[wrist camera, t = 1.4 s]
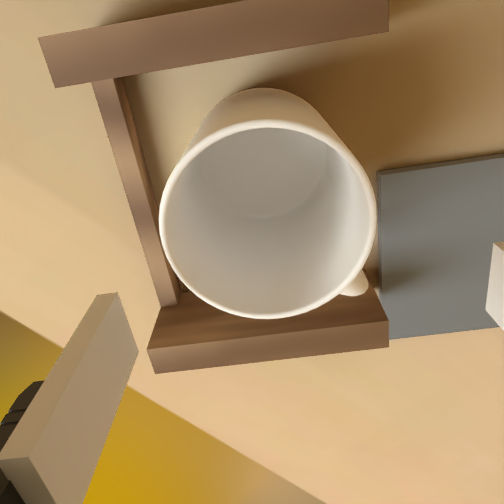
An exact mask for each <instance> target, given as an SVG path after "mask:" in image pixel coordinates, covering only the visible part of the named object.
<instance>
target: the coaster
mask: <svg viewBox="0 0 504 504" xmlns="http://www.w3.org/2000/svg"><path fill="white" fill-rule="evenodd" d="M377 175H378V247H379V301H380V303H381V305H382V307H383V309H384V311H385V313H386V316H387V318H388V320H389V340H391V339H400V338H408V337H417V336H426V335H434V334H443V333H452V332H460V331H469V330H477V329H486V328H495V327H500V326H499V325H498V324H497V323H496V322H495V320H494V319H493V318H492V317H491V316H490V315H489V314H488V312H487V311H486V310H485V309H486V300H487V292H488V284H489V275H490V267H491V259H492V250H493V243H496V242H503V241H504V153H501V154H494V155H487V156H480V157H473V158H467V159H460V160H453V161H446V162H439V163H432V164H425V165H419V166H412V167H405V168H398V169H391V170H384V171H377Z"/></svg>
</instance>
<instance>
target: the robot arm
mask: <svg viewBox="0 0 504 504" xmlns="http://www.w3.org/2000/svg"><path fill="white" fill-rule="evenodd" d="M485 310H486V311H487V312H488V314H489V315H490V316H491V317H492V318H493V319H494V320H495V322H496V323H497V324H498V325H499V326H500V327H501V329H502V330H503V331H504V241H503V242H496V243H493V250H492V259H491V267H490V275H489V284H488V292H487V300H486V309H485ZM138 352H139V351H138V349H137V346H136V343H135V340H134V337H133V334H132V332H131V329H130V326H129V323H128V320H127V317H126V315H125V312H124V309H123V306H122V303H121V300H120V298H119V295H118V292H116V293H109V294H101V295H97V296H96V298H95V299H94V301H93V303H92V304H91V306H90V308H89V309H88V311H87V312H86V314H85V316H84V317H83V319H82V320H81V322H80V324H79V325H78V327H77V329H76V330H75V332H74V333H73V335H72V337H71V338H70V340H69V342H68V343H67V345H66V346H65V348H64V350H63V351H62V353H61V355H60V356H59V358H58V359H57V361H56V363H55V364H54V366H53V368H52V369H51V371H50V372H49V374H48V376H47V378H46V379H45V381H37V382H33V383H32V384H31V385H30V386H29V387H28V388H27V389H25V390H24V391H23V392H22V393H21V394H20V395H19V396H18V398H17V399H16V400H15V402H14V403H13V405H12V406H11V408H10V410H9V413H8V414H6V415H5V417H4V418H3V420H2V422H1V425H0V504H82V503H83V501H84V498H85V495H86V492H87V490H88V487H89V484H90V482H91V479H92V476H93V474H94V471H95V468H96V465H97V463H98V460H99V457H100V455H101V452H102V449H103V447H104V444H105V441H106V438H107V436H108V433H109V430H110V428H111V425H112V422H113V419H114V417H115V414H116V412H117V409H118V406H119V403H120V401H121V398H122V395H123V392H124V390H125V387H126V385H127V382H128V379H129V376H130V374H131V371H132V368H133V366H134V363H135V360H136V357H137V355H138Z"/></svg>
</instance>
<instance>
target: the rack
mask: <svg viewBox="0 0 504 504" xmlns="http://www.w3.org/2000/svg"><path fill="white" fill-rule="evenodd" d="M383 32H389V0H244V1H239V2H233V3H227V4H222V5H216V6H211V7H205V8H200V9H194V10H189V11H183V12H177V13H172V14H166V15H161V16H155V17H150V18H144V19H139V20H133V21H127V22H122V23H116V24H111V25H105V26H100V27H94V28H89V29H83V30H77V31H72V32H66V33H61V34H55V35H50V36H44V37H39V38H38V40H39V43H40V46H41V49H42V52H43V54H44V57H45V60H46V63H47V66H48V69H49V72H50V74H51V77H52V80H53V83H54V86H55V88H59V87H65V86H71V85H77V84H83V83H88V82H91V83H92V86H93V90H94V93H95V96H96V99H97V102H98V106H99V109H100V112H101V115H102V119H103V122H104V125H105V128H106V131H107V135H108V138H109V141H110V144H111V148H112V151H113V154H114V157H115V161H116V164H117V167H118V170H119V173H120V177H121V180H122V183H123V186H124V190H125V193H126V196H127V199H128V202H129V206H130V209H131V212H132V215H133V219H134V222H135V225H136V228H137V231H138V235H139V238H140V241H141V244H142V248H143V251H144V254H145V257H146V260H147V264H148V267H149V270H150V273H151V277H152V280H153V283H154V286H155V290H156V293H157V296H158V299H159V302H160V306H161V309H160V312H159V315H158V318H157V320H156V323H155V326H154V329H153V332H152V335H151V338H150V341H149V344H148V347H147V352H148V355H149V358H150V361H151V363H152V366H153V369H154V372H155V374H159V373H168V372H176V371H185V370H194V369H203V368H211V367H220V366H229V365H238V364H246V363H255V362H264V361H273V360H281V359H290V358H299V357H308V356H316V355H325V354H334V353H342V352H351V351H360V350H369V349H377V348H386V347H389V320H388V318H387V316H386V313H385V311H384V309H383V307H382V305H381V303H380V301H379V299H378V296H377V294H376V292H375V290H374V288H373V286H372V284H371V282H370V279H369V277H368V275H367V273H366V271H365V269H362V270H363V272H364V274H365V276H366V278H367V280H368V289H367V290H366V292H365V293H363V294H361V295H358V296H346V295H342V294H338V295H337V296H336V297H334V298H333V299H331V300H330V301H328V302H327V303H325V304H323V305H321V306H319V307H317V308H315V309H313V310H310V311H308V312H305V313H302V314H299V315H295V316H291V317H285V318H277V319H255V318H248V317H242V316H238V315H234V314H230V313H228V312H225V311H223V310H220V309H218V308H216V307H214V306H212V305H210V304H208V303H207V302H205V301H204V300H202V299H201V298H199V297H198V296H196V295H195V294H194V293H193V292H192V291H189V292H181V290H180V286H179V283H178V279H177V275H176V273H175V271H174V270H173V269H172V267H171V265H170V263H169V261H168V259H167V257H166V254H165V251H164V249H163V246H162V242H161V237H160V231H159V210H158V207H157V203H156V200H155V196H154V192H153V189H152V185H151V181H150V178H149V174H148V171H147V167H146V163H145V160H144V156H143V153H142V149H141V145H140V142H139V138H138V135H137V131H136V127H135V124H134V120H133V117H132V113H131V109H130V106H129V102H128V98H127V95H126V91H125V88H124V84H123V80H122V77H124V76H130V75H136V74H141V73H147V72H153V71H159V70H165V69H171V68H177V67H183V66H189V65H194V64H200V63H206V62H212V61H218V60H224V59H230V58H236V57H241V56H247V55H253V54H259V53H265V52H271V51H277V50H283V49H289V48H294V47H300V46H306V45H312V44H318V43H324V42H330V41H336V40H341V39H347V38H353V37H359V36H365V35H371V34H377V33H383Z"/></svg>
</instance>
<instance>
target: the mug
mask: <svg viewBox="0 0 504 504" xmlns="http://www.w3.org/2000/svg"><path fill="white" fill-rule="evenodd" d="M376 229H377V206H376V199H375V195H374V191H373V188H372V185H371V183H370V180H369V178H368V176H367V174H366V172H365V170H364V169H363V167H362V165H361V164H360V163H359V161H358V160H357V159H356V158H355V156H354V155H353V154H352V153H351V151H350V150H349V149H348V148H347V146H346V145H345V144H344V143H343V142H342V140H341V139H340V138H339V137H338V136H337V134H336V133H335V132H334V131H333V129H332V128H331V127H330V126H329V125H328V123H327V122H326V121H325V120H324V119H323V117H322V116H321V115H320V114H319V112H318V111H317V110H315V109H314V108H313V107H312V106H311V105H310V104H309V103H307V102H306V101H305V100H303V99H302V98H300V97H298V96H296V95H294V94H292V93H289V92H287V91H284V90H280V89H274V88H253V89H248V90H244V91H241V92H238V93H236V94H233V95H231V96H230V97H228V98H226V99H224V100H223V101H222V102H220V103H219V104H218V105H216V106H215V107H214V108H213V109H212V110H211V111H210V112H209V113H208V114H207V116H206V117H205V118H204V120H203V121H202V122H201V124H200V126H199V127H198V129H197V131H196V133H195V134H194V136H193V138H192V139H191V141H190V143H189V144H188V146H187V148H186V149H185V151H184V153H183V155H182V156H181V158H180V160H179V161H178V163H177V165H176V166H175V168H174V170H173V172H172V173H171V175H170V177H169V179H168V181H167V183H166V186H165V189H164V191H163V194H162V199H161V203H160V210H159V231H160V237H161V242H162V246H163V249H164V251H165V254H166V257H167V259H168V261H169V263H170V265H171V267H172V269H173V270H174V271H175V273H176V274H177V276H178V277H179V279H180V280H181V281H182V282H183V283H184V284H185V285H186V286H187V288H188V289H190V290H191V291H192V292H193V293H194V294H195V295H196V296H198V297H199V298H201V299H202V300H204V301H205V302H207V303H208V304H210V305H212V306H214V307H216V308H218V309H220V310H223V311H225V312H228V313H230V314H234V315H238V316H242V317H248V318H255V319H277V318H285V317H291V316H295V315H299V314H302V313H305V312H308V311H310V310H313V309H315V308H317V307H319V306H321V305H323V304H325V303H327V302H328V301H330V300H331V299H333V298H334V297H336V296H337V295H338V294H342V295H346V296H358V295H361V294H363V293H365V292H366V290H367V289H368V280H367V278H366V276H365V274H364V272H363V270H362V268H363V266H364V264H365V262H366V260H367V258H368V256H369V254H370V251H371V249H372V246H373V243H374V239H375V234H376Z"/></svg>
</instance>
